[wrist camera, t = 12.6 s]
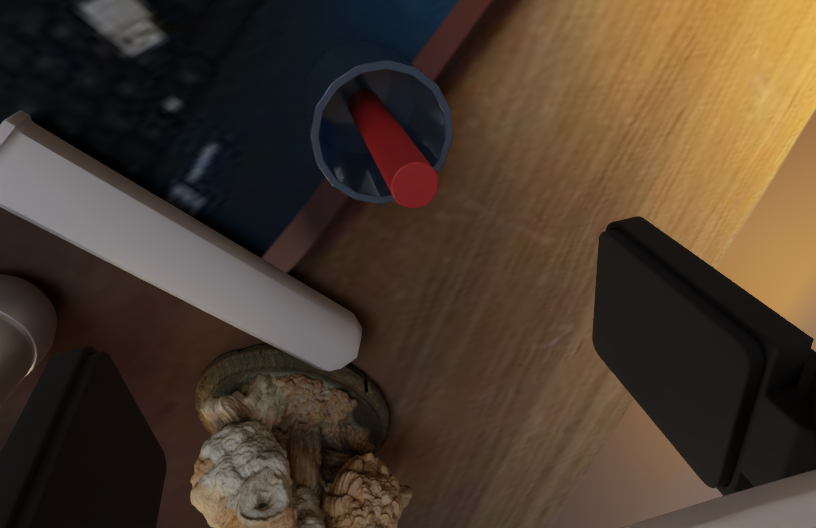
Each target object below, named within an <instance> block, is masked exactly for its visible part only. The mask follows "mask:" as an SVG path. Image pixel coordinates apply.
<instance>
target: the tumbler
mask: <svg viewBox="0 0 816 528" xmlns="http://www.w3.org/2000/svg"><path fill="white" fill-rule="evenodd" d="M360 89H368V90H371V91H373V92H374V93H375V94H376V95H377V96H378V98H379V99H380V100H381V101H382V103H383V104H384V105H385V107H386V108H387V109H388V110H389V112H390V113H391V114H392V116H393V117H394V118H395V119H396V121H397V122H398V123H399V125H400V126H401V127H402V128H403V130H404V131H405V132H406V134H407V135H408V136H409V138H410V139H411V140H412V141H413V143H414V144H415V145H416V147H417V148H418V149H419V150H420V152H421V153H422V154H423V156H424V157H425V158H426V159H427V161H428V162H429V163H430V165H431V166H432V167H433V168H434V170H435V171H436V173H438V171H439V170H440V169H441V168H442V166H443V165H444V163H445V161H446V158H447V155H448V151H449V148H450V145H451V141H452V137H453V133H452V121H451V110H450V108H449V106H448V104H447V102H446V100H445V98H444V96H443V94H442V92H441V90H440V88H439V86H438V85H437V84H436V83H435V82H433V81H432V80H431V79H430V78H428V77H427V76H426V75H425V74H423V73H422V72H421V71H420V70H419V69H417V68H416V67H415V66H413V65H412V64H411V63H409V62H408V61H407V60H405V59H404V58H403V57H401V56H400V55H399V54H397V53H396V52H395V51H393V50H392V49H391V48H389V47H388V46H385V45H382V44H380V43H377V42H373V41H368V40H352V41H347V42H343V43H341V44H338V45H336V46H334V47H332V48H331V49H329V50H328V51H326V52H325V53H324V54H323V55H322V56H321V57H320V58H319V59H318V60H317V61H316V62H315V64H314V65H313V66H312V68H311V70H310V72H309V74H308V76H307V79H306V82H305V86H304V93H303V107H304V111H305V116H306V120H307V125H308V129H309V134H310V138H311V143H312V147H313V152H314V156H315V161H316V163H317V165H318V167H319V168H320V170H321V171H322V172H323V174H324V175H325V177H326V178H327V179H328V181H329V182H330V184H331V185H332V186H334V187H335V188H337V189H338V190H340V191H342V192H343V193H345V194H347V195H348V196H350V197H351V198H353V199H355V200H361V201H367V202H372V203H378V204H382V203H387V202H392V201H395V199H394V198H393V196H392V194H391V192H390V190H389V188H388V186H387V184H386V182H385V180H384V178H383V176H382V174H381V172H380V170H379V169H378V167H377V165H376V163H375V161H374V159H373V157H372V155H371V153H370V151H369V149H368V147H367V145H366V143H365V141H364V139H363V137H362V135H361V134H360V132H359V130H358V128H357V126H356V124H355V122H354V120H353V118H352V116H351V114H350V112H349V109H348V102H349V99H350V97H351V95H352V94H353V93H354V92H356V91H357V90H360Z"/></svg>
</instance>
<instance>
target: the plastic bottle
mask: <svg viewBox="0 0 816 528" xmlns="http://www.w3.org/2000/svg"><path fill="white" fill-rule="evenodd" d="M57 323H58V322H57V314H56V311H55V309H54V306H53V305H52V303H51V302H50V300H49V299H48V297H47V296H46V295H45V294H44V293H43V292H42V291H41V290H40V289H39V288H38V287H36V286H35V285H34V284H32V283H30V282H28V281H26V280H24V279H21V278H18V277H15V276H10V275H4V274H0V410H1V408H2V406H3V405H4V404H5V402H6V401H7V400H8V398H9V397H10V396H11V394H12V393H13V392H14V390H15V389H16V388H17V386H18V385H19V384H20V382H21V381H22V380H23V379H24V377H25V376H27V375H28V374H29V373H30V372H31V371H32V370H33V369H34V368H35V367H36V366H37V365H38V364H39V362H40V361H41V360H42V359H43V358H44V357H45V355H46V354H47V353H48V352H49V351H50V349H51V346H52V344H53V341H54V337H55V333H56V329H57Z"/></svg>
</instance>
